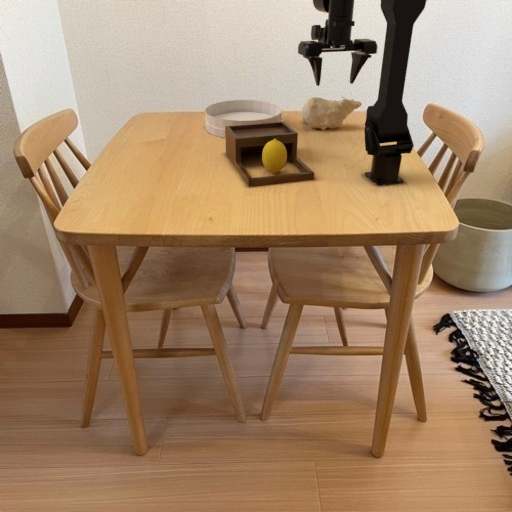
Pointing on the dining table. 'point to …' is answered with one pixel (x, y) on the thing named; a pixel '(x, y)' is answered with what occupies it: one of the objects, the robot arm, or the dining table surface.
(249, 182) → the step shelf
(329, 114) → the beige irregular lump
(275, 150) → the lemon
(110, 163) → the dining table surface
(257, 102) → the dish
